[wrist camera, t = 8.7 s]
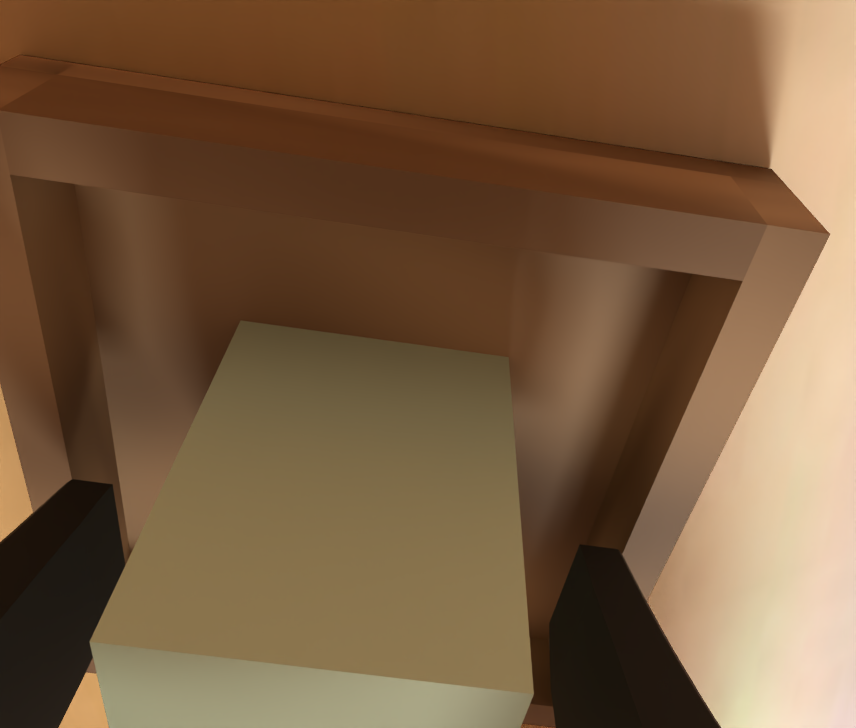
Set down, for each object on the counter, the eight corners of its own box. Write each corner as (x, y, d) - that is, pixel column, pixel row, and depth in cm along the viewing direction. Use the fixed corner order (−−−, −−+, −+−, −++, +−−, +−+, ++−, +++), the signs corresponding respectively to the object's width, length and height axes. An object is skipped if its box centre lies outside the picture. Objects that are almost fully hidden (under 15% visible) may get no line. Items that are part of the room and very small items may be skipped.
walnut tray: (570, 641, 18) (582, 731, 16) (114, 585, 17) (73, 670, 16) (771, 169, 11) (830, 234, 9) (19, 54, 11) (-72, 100, 9)
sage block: (465, 535, 15) (462, 872, 10) (243, 507, 15) (134, 835, 10) (508, 357, 12) (533, 693, 8) (240, 320, 12) (90, 641, 7)
